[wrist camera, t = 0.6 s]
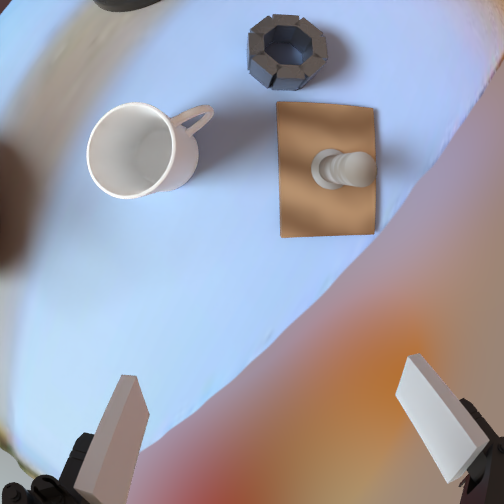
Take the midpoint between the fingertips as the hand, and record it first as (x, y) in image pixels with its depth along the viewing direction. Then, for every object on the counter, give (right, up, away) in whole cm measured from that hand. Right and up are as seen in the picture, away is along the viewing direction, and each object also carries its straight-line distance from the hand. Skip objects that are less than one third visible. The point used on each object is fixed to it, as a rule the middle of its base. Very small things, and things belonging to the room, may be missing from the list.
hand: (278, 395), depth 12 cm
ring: (+2, +30, +17) cm, 35 cm away
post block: (+8, +17, +21) cm, 28 cm away
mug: (-10, +19, +20) cm, 29 cm away
